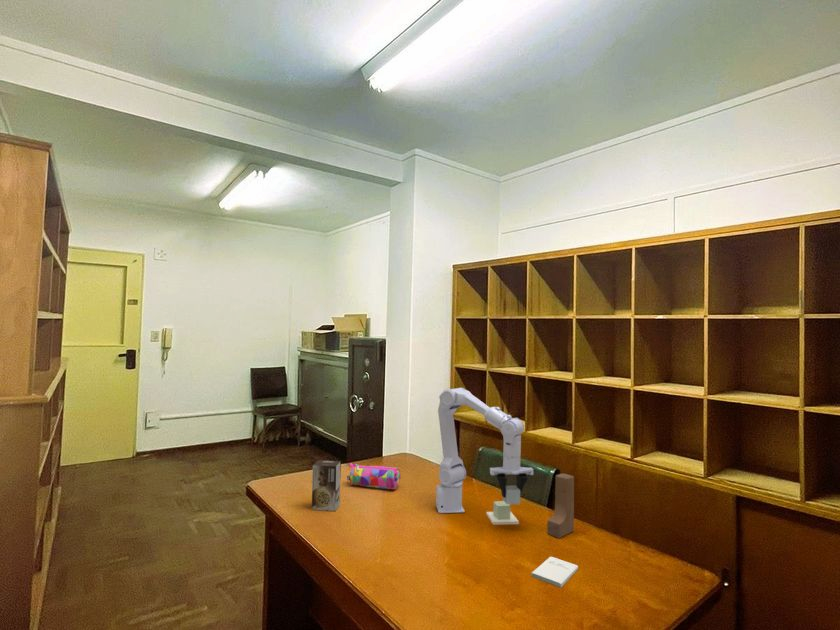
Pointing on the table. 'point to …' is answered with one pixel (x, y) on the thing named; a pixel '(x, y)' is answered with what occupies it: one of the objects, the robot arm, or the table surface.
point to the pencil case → (374, 476)
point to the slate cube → (512, 495)
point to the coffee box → (326, 485)
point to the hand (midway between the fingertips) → (511, 496)
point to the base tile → (503, 521)
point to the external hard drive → (555, 571)
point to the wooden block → (562, 507)
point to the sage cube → (501, 510)
